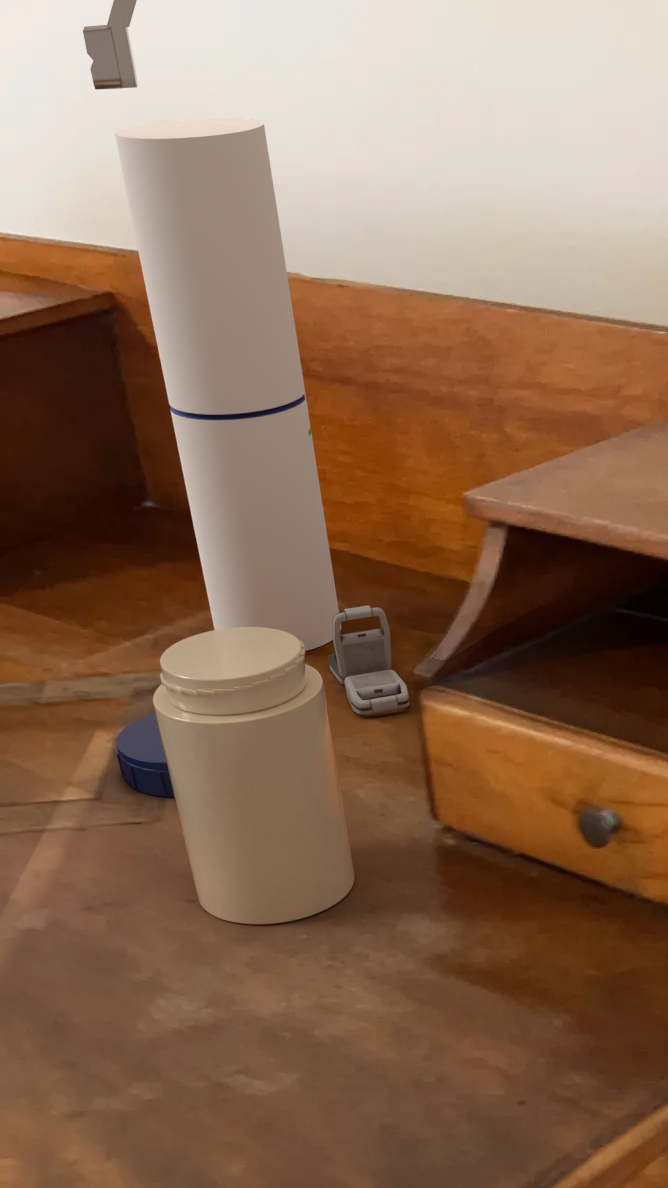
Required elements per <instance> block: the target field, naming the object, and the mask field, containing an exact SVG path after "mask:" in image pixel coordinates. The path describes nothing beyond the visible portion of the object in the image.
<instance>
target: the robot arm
mask: <svg viewBox="0 0 668 1188" xmlns="http://www.w3.org/2000/svg"><path fill="white" fill-rule="evenodd" d="M137 1H138V0H113V1H112V5H111V9H110V13H109V16H108V20H107V23H106V24H101V25H100V24H99V25H89V26H88V25H87V26H84V27H83V29H82V34H83V40H84V45H85V49H86V54H87V55H88V56H89V57H90V58H91V60H92V63H91V65H90V73H91V77H92V78H91V79H92V83H93V86H94V90H115V89H117V90H118V89H133V88H138V85H139V84H138V78H137V72H136V65H135V61H134V55H133V50H132V45H131V40H130V34H129V29H128V28H129V27H130V25H131V21H132V19H133V15H134V12H135V8H136V5H137Z"/></svg>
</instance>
